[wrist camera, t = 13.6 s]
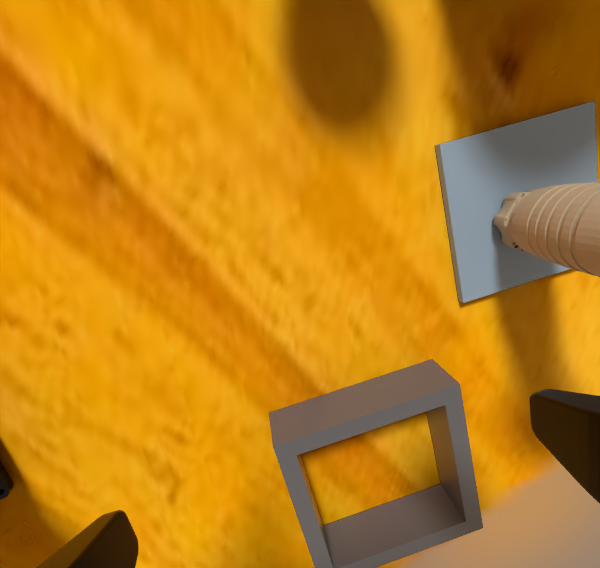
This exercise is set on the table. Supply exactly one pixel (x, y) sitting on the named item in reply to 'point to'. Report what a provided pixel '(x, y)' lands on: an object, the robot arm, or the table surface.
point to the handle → (555, 224)
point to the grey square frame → (399, 513)
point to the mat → (501, 182)
